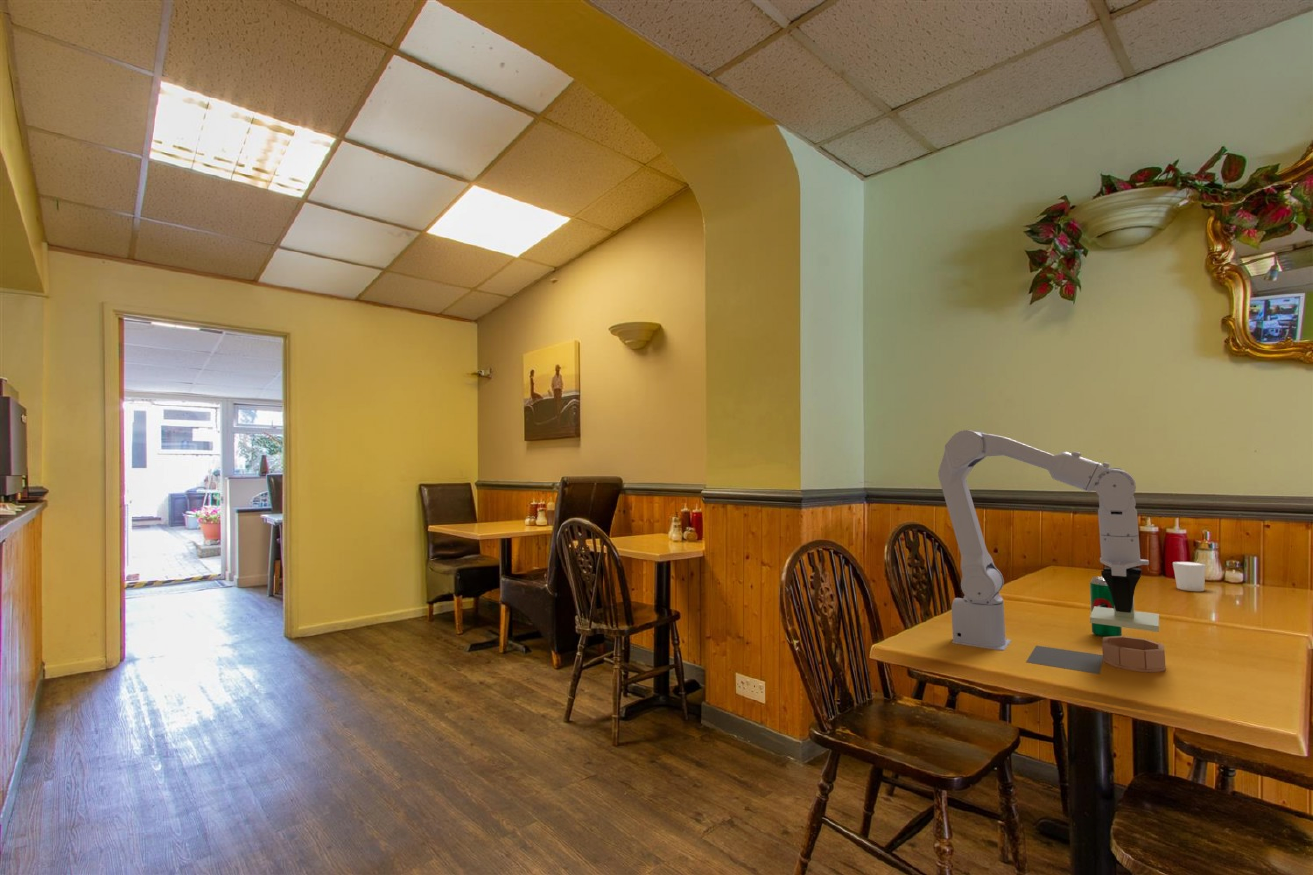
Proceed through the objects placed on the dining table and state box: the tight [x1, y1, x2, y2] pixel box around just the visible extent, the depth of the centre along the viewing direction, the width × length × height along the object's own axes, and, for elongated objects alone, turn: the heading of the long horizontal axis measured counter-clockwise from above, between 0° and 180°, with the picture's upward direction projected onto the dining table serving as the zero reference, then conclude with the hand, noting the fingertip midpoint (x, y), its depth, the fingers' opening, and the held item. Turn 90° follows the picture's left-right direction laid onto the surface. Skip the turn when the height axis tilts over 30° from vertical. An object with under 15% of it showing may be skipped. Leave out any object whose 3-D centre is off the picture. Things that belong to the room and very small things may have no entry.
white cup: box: [1172, 561, 1206, 592], centre depth 166 cm, size 7×7×7 cm
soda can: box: [1089, 576, 1123, 638], centre depth 127 cm, size 5×5×12 cm
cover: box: [1089, 595, 1160, 633], centre depth 110 cm, size 10×10×5 cm
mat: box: [1025, 645, 1104, 675], centre depth 113 cm, size 11×12×1 cm
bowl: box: [1101, 635, 1167, 673], centre depth 110 cm, size 9×9×4 cm
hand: (1124, 609), depth 110 cm, fingers closed on cover, 3 cm apart
